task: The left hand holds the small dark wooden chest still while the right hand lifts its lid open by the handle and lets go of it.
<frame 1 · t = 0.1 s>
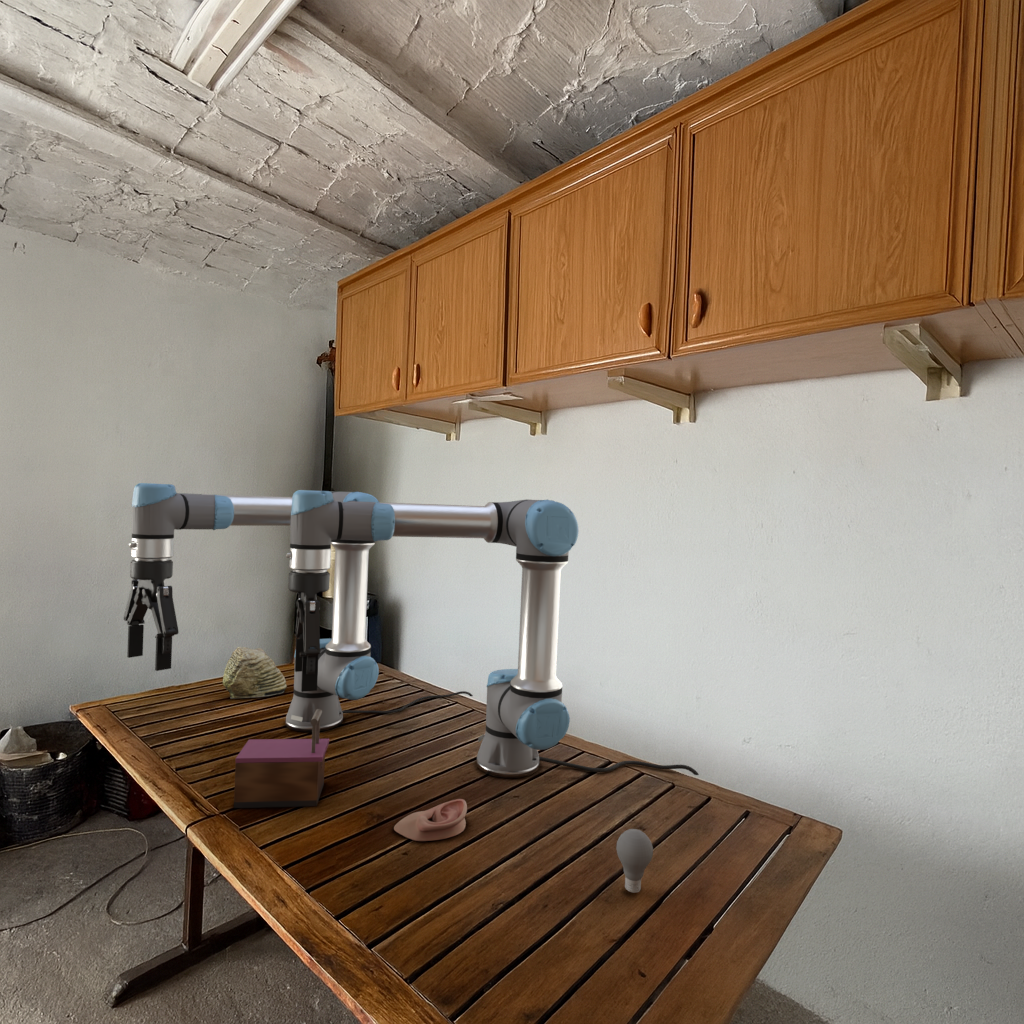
left hand: (148, 662, 129), 28 cm above the table, tool pointing down, fingers open, 13 cm apart
right hand: (305, 680, 122), 28 cm above the table, tool pointing down, fingers open, 13 cm apart
anatomical model: (430, 827, 123), on the table
chest: (280, 795, 134), on the table
light bulb: (632, 891, 106), on the table
lid: (285, 733, 133), point 13 cm above the table, hinge at 0.0°
fossil: (254, 694, 198), on the table
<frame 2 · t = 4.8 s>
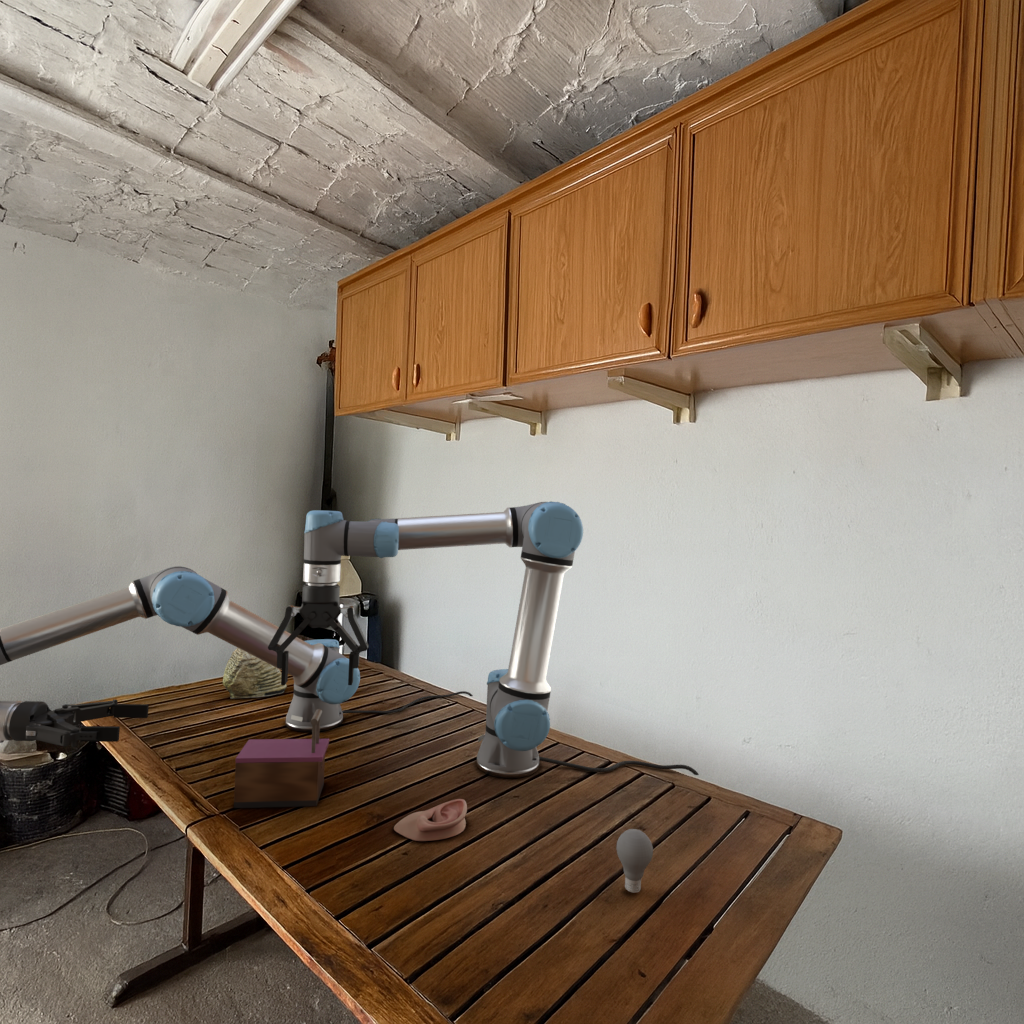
left hand: (134, 722, 129), 16 cm above the table, tool horizontal, fingers open, 13 cm apart
right hand: (317, 683, 134), 24 cm above the table, tool pointing down, fingers open, 13 cm apart
nothing on the table moved.
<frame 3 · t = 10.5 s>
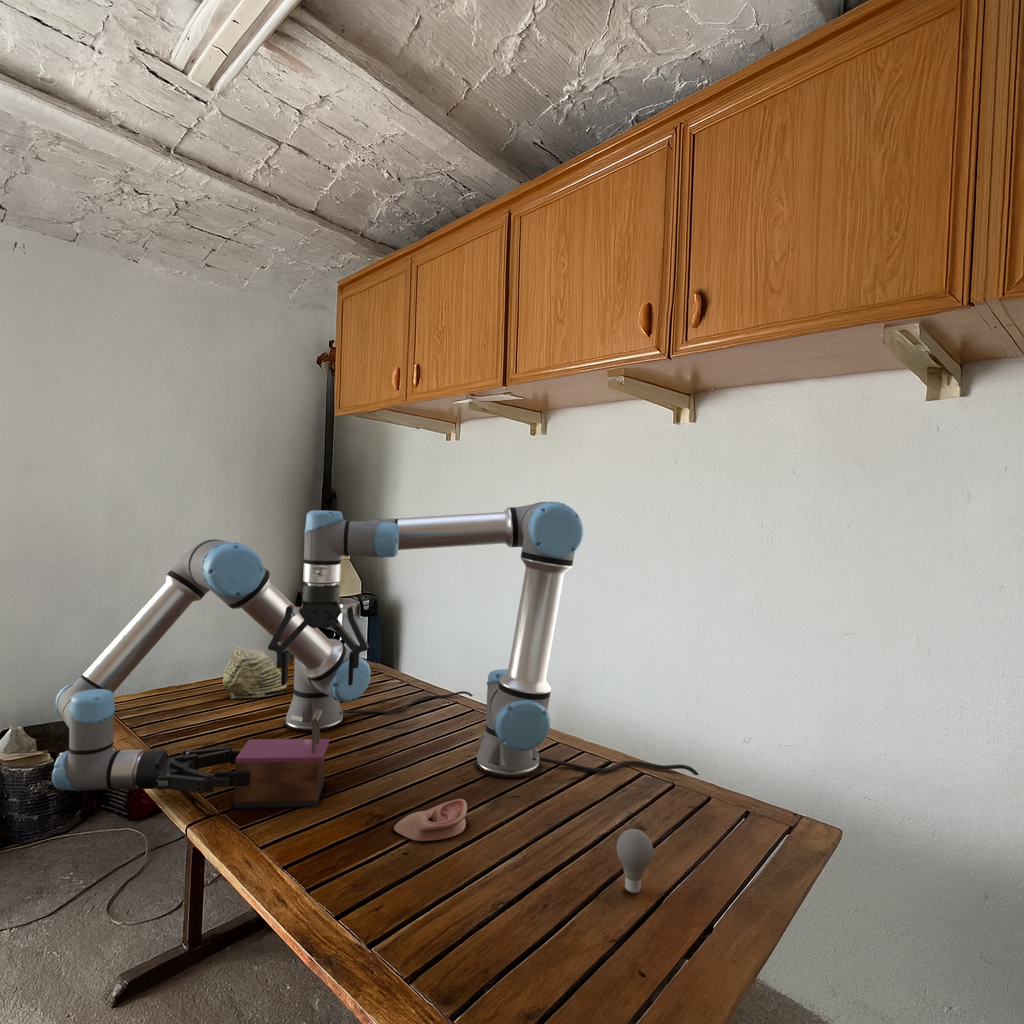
left hand: (255, 767, 133), 6 cm above the table, tool horizontal, fingers closed on chest, 10 cm apart
right hand: (317, 683, 134), 24 cm above the table, tool pointing down, fingers open, 13 cm apart
chest: (280, 795, 134), on the table, touching left hand
everything else where it was.
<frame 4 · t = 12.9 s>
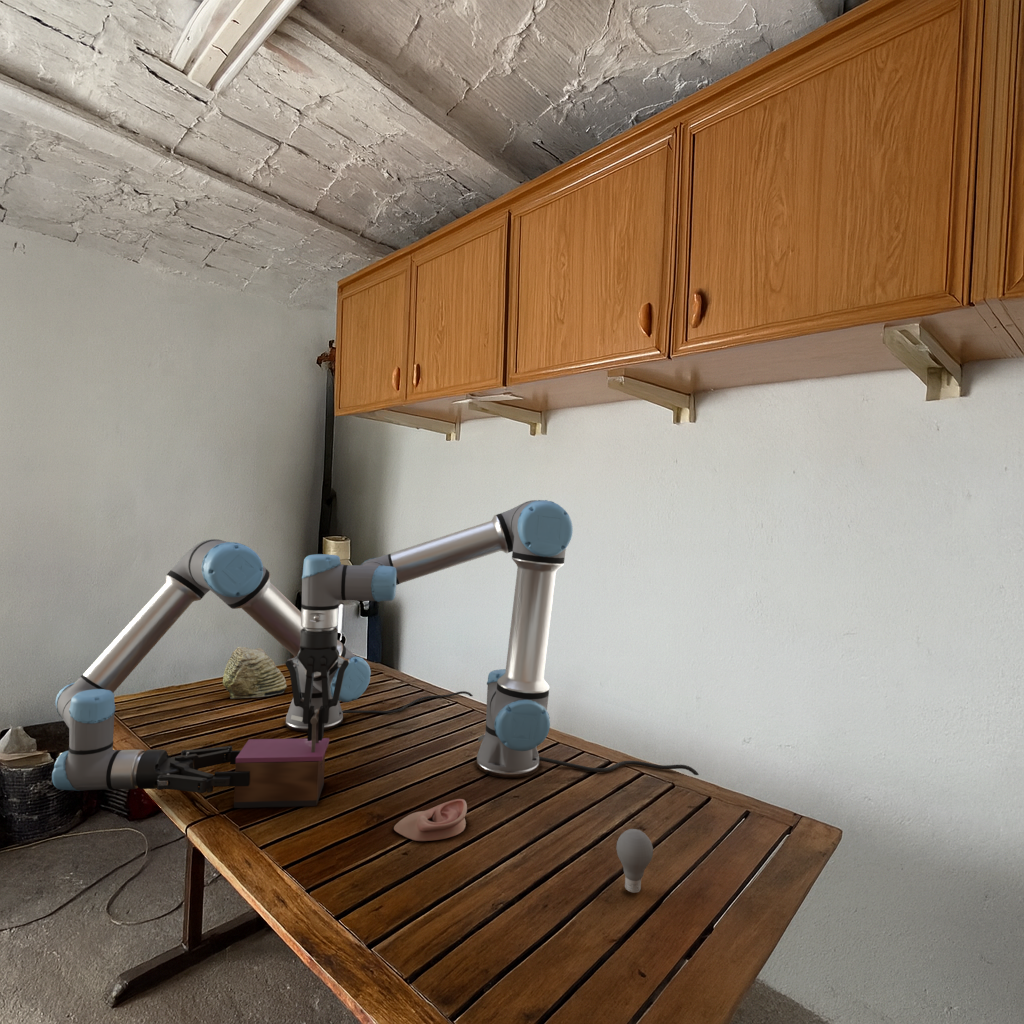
left hand: (255, 767, 133), 6 cm above the table, tool horizontal, fingers closed on chest, 10 cm apart
right hand: (315, 738, 134), 12 cm above the table, tool pointing down, fingers closed on lid, 1 cm apart
chest: (280, 795, 134), on the table, touching left hand
lid: (285, 732, 133), point 13 cm above the table, hinge at 0.4°, touching right hand
everything else where it was.
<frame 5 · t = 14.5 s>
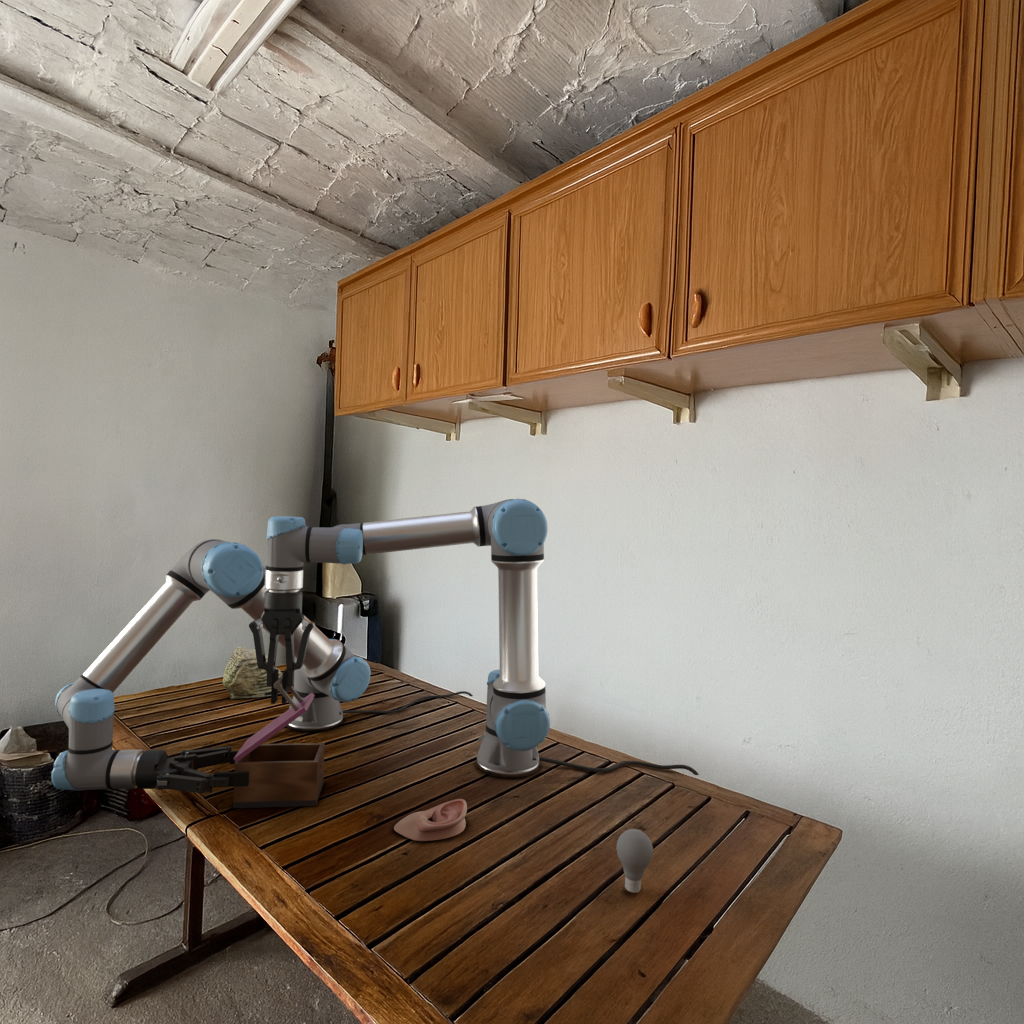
left hand: (255, 767, 133), 6 cm above the table, tool horizontal, fingers closed on chest, 10 cm apart
right hand: (279, 701, 133), 20 cm above the table, tool pointing down, fingers closed on lid, 1 cm apart
chest: (280, 795, 134), on the table, touching left hand
lid: (265, 712, 133), point 18 cm above the table, hinge at 37.8°, touching right hand
everything else where it was.
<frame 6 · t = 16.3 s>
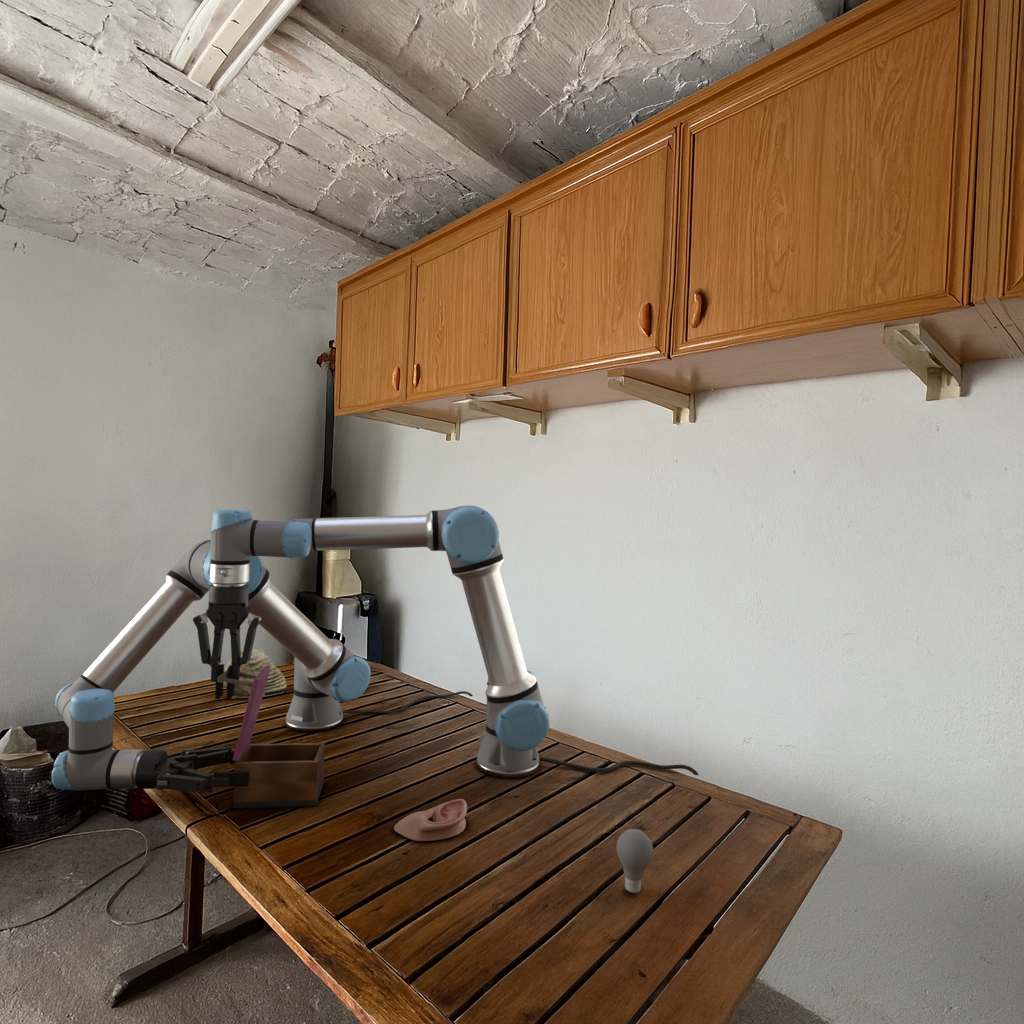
left hand: (255, 767, 133), 6 cm above the table, tool horizontal, fingers closed on chest, 10 cm apart
right hand: (224, 696, 131), 21 cm above the table, tool pointing down, fingers closed
chest: (280, 795, 134), on the table, touching left hand
lid: (234, 707, 132), point 19 cm above the table, hinge at 77.5°
everything else where it was.
when the left hand's fingers open (6 cm above the table, at t = 20.4 s): chest stays where it is, on the table.
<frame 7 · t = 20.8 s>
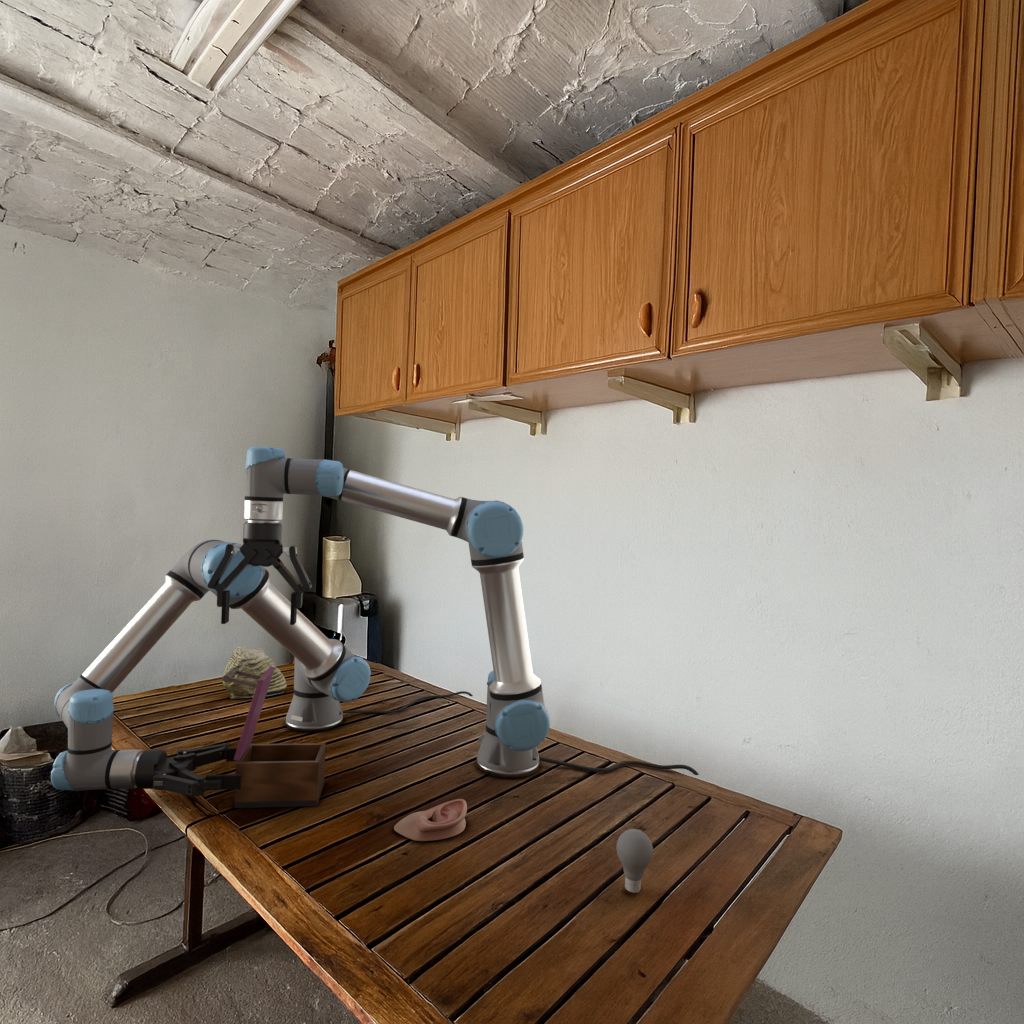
left hand: (250, 767, 133), 6 cm above the table, tool horizontal, fingers open, 13 cm apart
right hand: (259, 623, 132), 36 cm above the table, tool pointing down, fingers open, 13 cm apart
chest: (281, 795, 134), on the table
lid: (237, 707, 132), point 19 cm above the table, hinge at 75.3°
everything else where it was.
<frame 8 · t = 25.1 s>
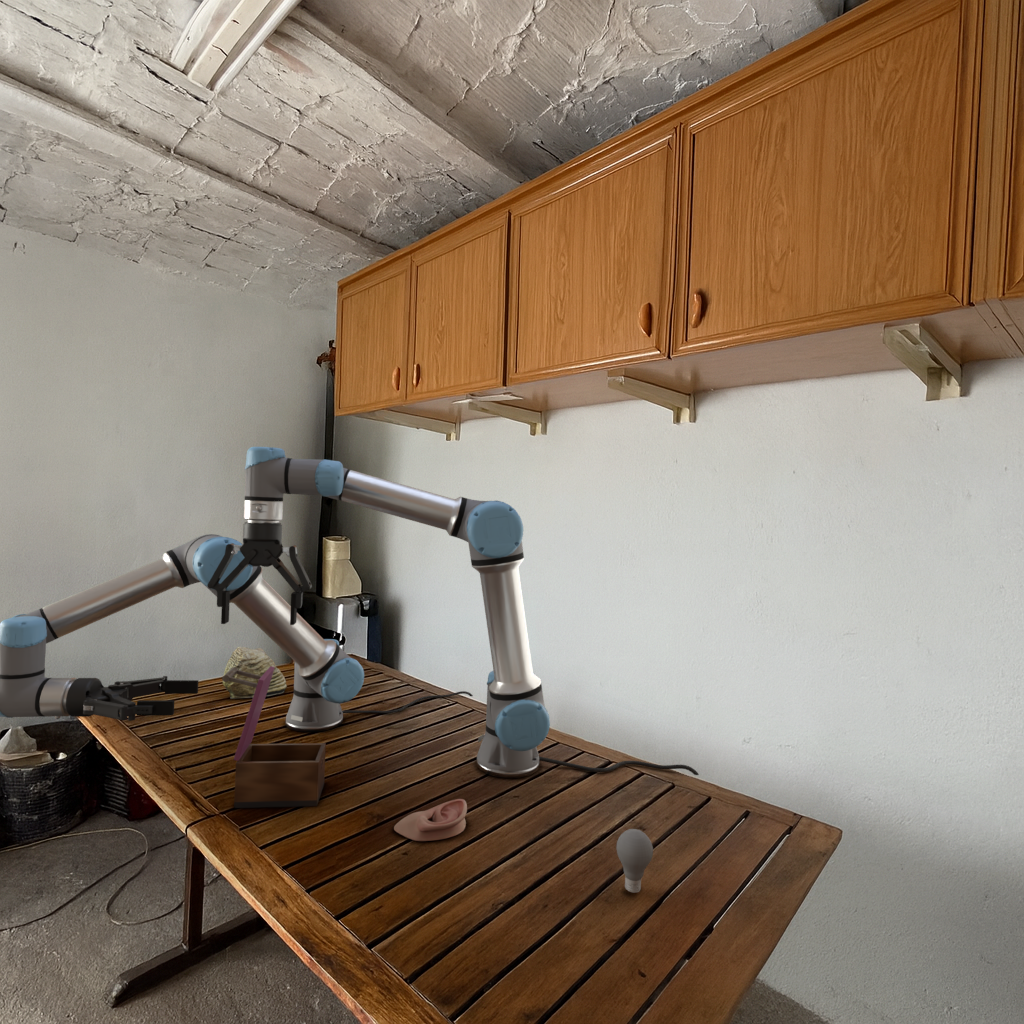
left hand: (186, 696, 130), 21 cm above the table, tool horizontal, fingers open, 13 cm apart
right hand: (259, 623, 132), 36 cm above the table, tool pointing down, fingers open, 13 cm apart
nothing on the table moved.
at the end: lid at +75° (first picture: +0°); the left hand is holding nothing; the right hand is holding nothing; chest tilted 0°; chest never tilted more than 1° during the clip; chest moved 0.1 cm from its start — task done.
